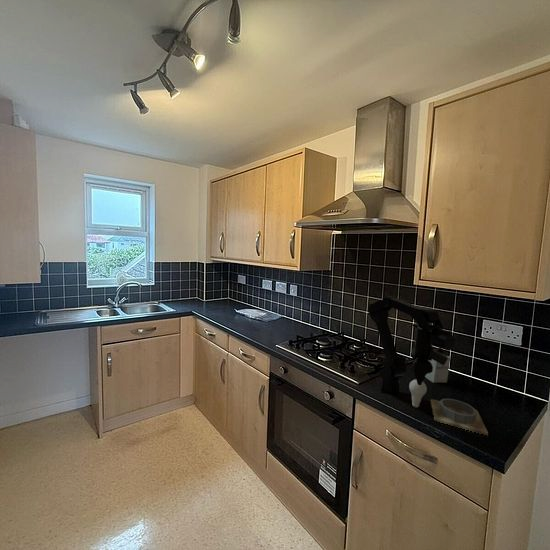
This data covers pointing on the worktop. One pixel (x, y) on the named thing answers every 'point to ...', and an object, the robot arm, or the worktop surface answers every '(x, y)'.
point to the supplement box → (438, 371)
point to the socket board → (458, 415)
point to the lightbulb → (417, 392)
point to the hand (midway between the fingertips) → (418, 380)
